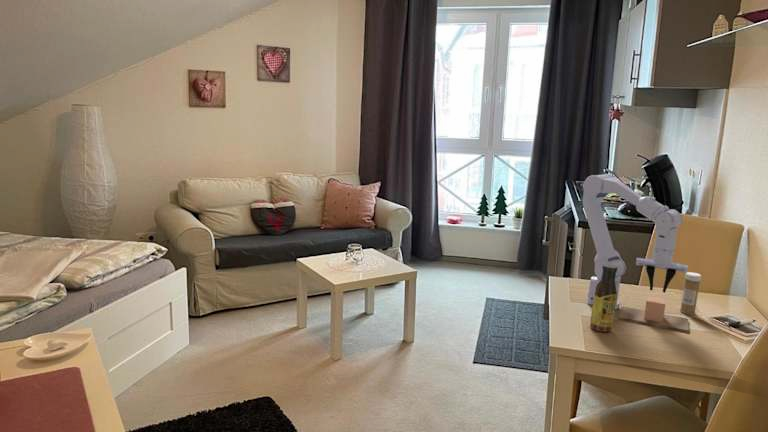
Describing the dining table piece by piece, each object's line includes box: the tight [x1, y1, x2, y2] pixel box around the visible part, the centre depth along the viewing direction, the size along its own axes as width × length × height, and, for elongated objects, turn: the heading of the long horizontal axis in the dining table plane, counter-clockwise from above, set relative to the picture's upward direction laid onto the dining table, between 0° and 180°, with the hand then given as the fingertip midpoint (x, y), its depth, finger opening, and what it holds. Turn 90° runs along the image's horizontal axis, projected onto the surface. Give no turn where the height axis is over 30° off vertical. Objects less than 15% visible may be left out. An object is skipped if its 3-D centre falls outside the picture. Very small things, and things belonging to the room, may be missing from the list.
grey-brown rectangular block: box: [617, 305, 690, 334], centre depth 187 cm, size 20×11×6 cm, turn 64°
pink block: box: [644, 295, 666, 322], centre depth 187 cm, size 5×5×6 cm
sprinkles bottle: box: [679, 271, 702, 316], centre depth 195 cm, size 5×5×13 cm
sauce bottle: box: [589, 264, 617, 333], centre depth 176 cm, size 6×6×20 cm
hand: (657, 290), depth 186 cm, fingers open, 3 cm apart
